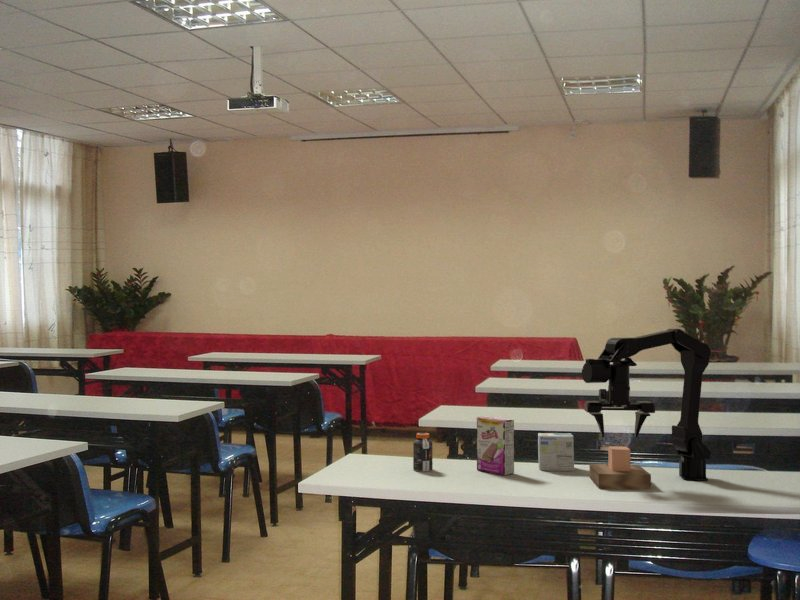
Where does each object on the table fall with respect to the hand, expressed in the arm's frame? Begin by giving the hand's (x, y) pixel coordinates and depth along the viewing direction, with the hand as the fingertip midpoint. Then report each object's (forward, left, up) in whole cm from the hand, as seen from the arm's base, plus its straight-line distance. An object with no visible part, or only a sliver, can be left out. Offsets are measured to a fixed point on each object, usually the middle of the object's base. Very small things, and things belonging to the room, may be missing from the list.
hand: (619, 437), depth 219 cm
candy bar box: (+34, -14, -13) cm, 39 cm away
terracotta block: (0, 0, -9) cm, 9 cm away
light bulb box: (+15, -20, -13) cm, 28 cm away
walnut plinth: (0, 0, -13) cm, 13 cm away
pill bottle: (+56, -16, -13) cm, 60 cm away
